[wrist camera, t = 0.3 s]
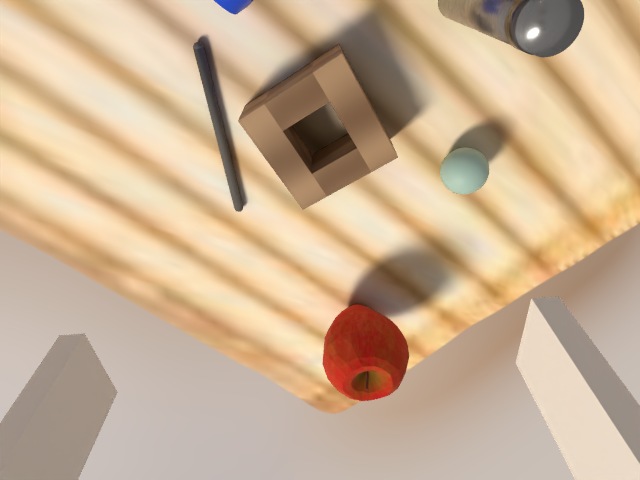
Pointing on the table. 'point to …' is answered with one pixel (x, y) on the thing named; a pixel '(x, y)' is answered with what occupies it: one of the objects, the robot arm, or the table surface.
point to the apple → (364, 354)
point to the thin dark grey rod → (217, 123)
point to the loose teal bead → (464, 170)
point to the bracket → (233, 5)
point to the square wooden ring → (298, 102)
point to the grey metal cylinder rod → (521, 22)
